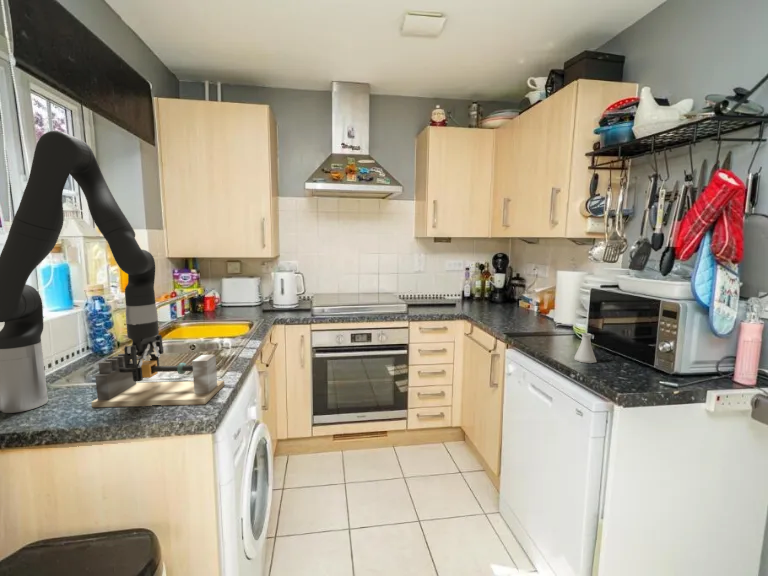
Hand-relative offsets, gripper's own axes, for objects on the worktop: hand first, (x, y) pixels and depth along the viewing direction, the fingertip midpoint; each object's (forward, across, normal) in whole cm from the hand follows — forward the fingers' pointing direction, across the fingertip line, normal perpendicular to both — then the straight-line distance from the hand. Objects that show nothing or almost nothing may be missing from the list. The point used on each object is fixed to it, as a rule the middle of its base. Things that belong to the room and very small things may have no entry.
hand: (146, 375), depth 108 cm
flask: (+6, -23, +143) cm, 145 cm away
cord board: (+6, 0, +4) cm, 7 cm away
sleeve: (0, 0, 0) cm, 0 cm away
